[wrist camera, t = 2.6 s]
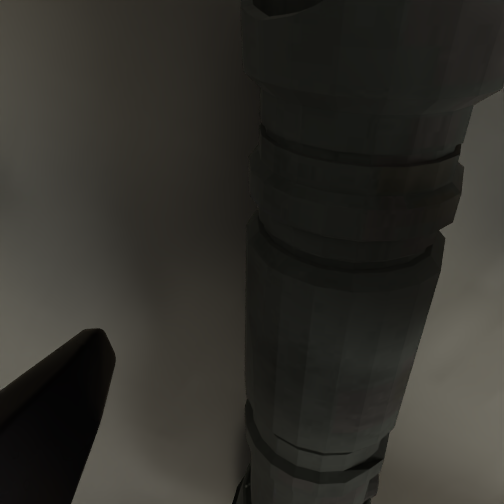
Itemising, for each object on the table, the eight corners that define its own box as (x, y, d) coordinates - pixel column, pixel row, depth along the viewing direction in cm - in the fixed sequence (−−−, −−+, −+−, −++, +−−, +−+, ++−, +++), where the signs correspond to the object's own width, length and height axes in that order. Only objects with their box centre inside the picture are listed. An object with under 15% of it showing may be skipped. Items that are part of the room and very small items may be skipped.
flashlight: (240, 510, 20) (221, 652, 16) (237, -29, 9) (169, -29, 5) (350, 523, 20) (361, 674, 15) (498, -26, 8) (688, -21, 4)
